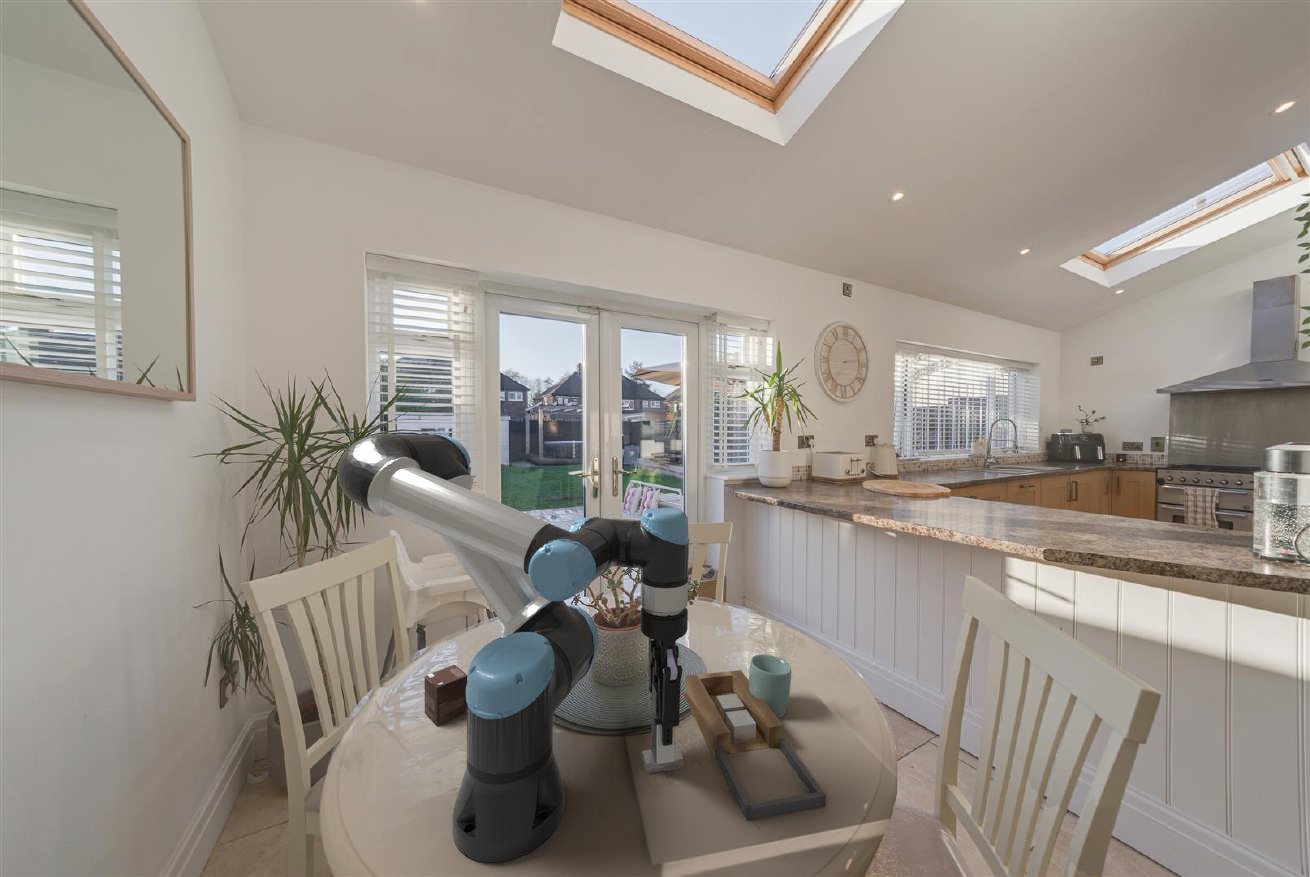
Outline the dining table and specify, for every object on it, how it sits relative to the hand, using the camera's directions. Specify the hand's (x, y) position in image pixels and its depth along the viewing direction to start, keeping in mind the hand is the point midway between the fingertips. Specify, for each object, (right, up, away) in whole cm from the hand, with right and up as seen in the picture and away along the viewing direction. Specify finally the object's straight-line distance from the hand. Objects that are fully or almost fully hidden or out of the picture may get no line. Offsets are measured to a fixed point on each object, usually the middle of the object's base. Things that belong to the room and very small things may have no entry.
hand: (662, 752), depth 72 cm
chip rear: (+13, -2, +12) cm, 18 cm away
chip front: (+14, -2, +7) cm, 16 cm away
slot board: (+13, -3, +12) cm, 18 cm away
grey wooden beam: (0, -3, 0) cm, 3 cm away
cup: (+20, -4, +15) cm, 25 cm away
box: (-42, -3, +15) cm, 44 cm away
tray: (+16, -4, -3) cm, 17 cm away
